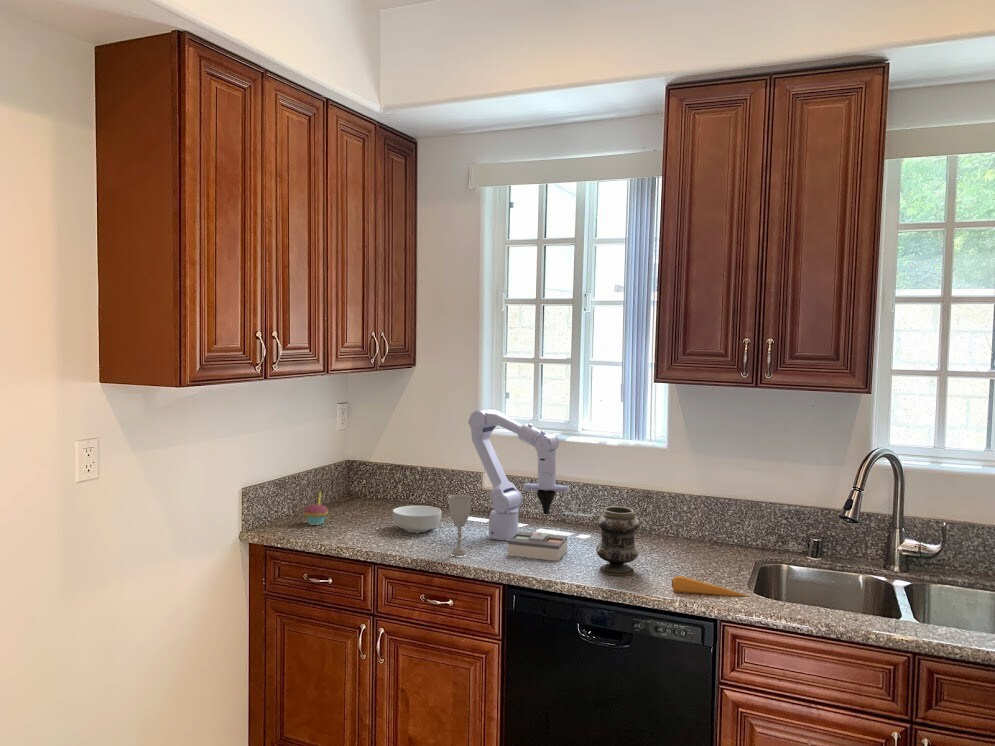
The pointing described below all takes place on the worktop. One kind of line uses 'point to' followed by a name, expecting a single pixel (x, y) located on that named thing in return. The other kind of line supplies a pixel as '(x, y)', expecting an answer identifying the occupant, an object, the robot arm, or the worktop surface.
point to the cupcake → (316, 512)
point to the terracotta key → (554, 541)
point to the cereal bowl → (416, 518)
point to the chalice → (459, 518)
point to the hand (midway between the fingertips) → (546, 513)
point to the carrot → (699, 587)
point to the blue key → (538, 537)
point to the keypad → (537, 546)
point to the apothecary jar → (617, 540)
